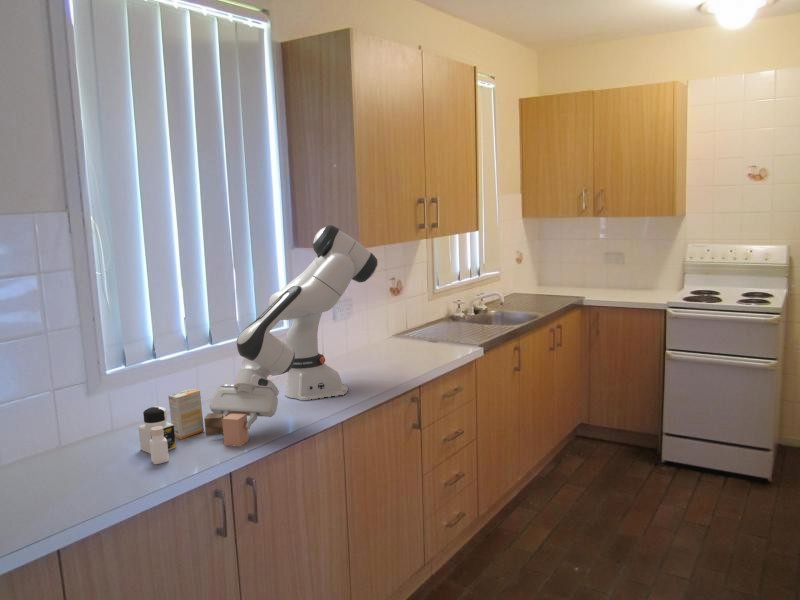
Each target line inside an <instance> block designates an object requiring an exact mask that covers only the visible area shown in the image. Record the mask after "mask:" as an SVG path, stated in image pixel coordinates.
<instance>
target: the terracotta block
mask: <svg viewBox="0 0 800 600" xmlns="http://www.w3.org/2000/svg"><path fill="white" fill-rule="evenodd" d="M245 421H248V416H247V414H236V413H231V414H229V415H228V416H226V417H224V418H223V419H222V422H223V433H222V434H223V444H224V446H225V445H235V446H234V447H238V446H240V447H242V446H243V445H244V444H246V443H247V442H248V441H249V429H244V428H243V425H244V422H245ZM247 440H248V441H247ZM246 441H247V442H246ZM245 442H246V443H245ZM243 443H244V444H243ZM242 444H243V445H242ZM241 445H242V446H241Z"/></svg>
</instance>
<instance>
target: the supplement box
mask: <svg viewBox="0 0 800 600" xmlns="http://www.w3.org/2000/svg"><path fill="white" fill-rule="evenodd" d="M201 397H202V396H201V390H198V389H195V388H188V389H185V390H182V391H178V392H174V393H171V394H168V397H167V398H168V405H169V407H168V408H169V414H170V423H171V424H174V433H175V439H179V440H183V439H185V438H189V437H191V436H193V435H196V434H199V433H203V432H204V431H205V430H204V429H205V426H204V419H203V408H202V399H201Z"/></svg>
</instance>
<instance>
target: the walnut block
mask: <svg viewBox="0 0 800 600" xmlns="http://www.w3.org/2000/svg"><path fill="white" fill-rule="evenodd" d="M223 418H224V417H223V414H214V413H213V412H212V413H210V412H209V413H207V414H206V415H205V417H204V419H203V422H204V429H205V430H204V431H205V435H214V433H218V434H223V422H222V419H223Z"/></svg>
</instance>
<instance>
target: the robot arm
mask: <svg viewBox="0 0 800 600" xmlns="http://www.w3.org/2000/svg"><path fill="white" fill-rule="evenodd" d="M312 249H313V251H314V253H315V254H316V255H317V256H315V258H314V259H313V260H312V262H310V264H309V265H308V266H307V267H306V268H305V270H304V271H303V272H301V273H300V274H299V275H298V276H297V277H295V278H293V279H292V280H291V281H290V282H289V283H288V284H286V285H285V286H284V287H282V288H281V289H279V290H278V291H276V292H275V293H273V294H272V295H271V296H270V297H269V300H268V307H267V309H265V311H264V312H262V314H260V316H258V317H257V319H255V320H254V321H253V322H252V323H250V325H248V326H247V327H245V328H244V329H243V330H242V331H241V332H240V333H239V335H238V336H237V337H236V338H237V339H236V347H237V348H236V349H237V351H238V354H239V356H241V357H242V365H241V368H240V369H239V370H238V373H237V376H236V379H235V382H234V384H222V385H220V386H219V387H217V388H216V391H215V394H214V395H213V398H212V399H211V401H210V404H209V409H210V411H211V412H212V413H214V414H223V417H226V416H228V415H229V414H231V413H236V414H247V417H250V418H248V419H247V421H245V422H244V425H243V428H244V429H248V430H250V429H251V427H252V425H253V424H254V423H255V422H256V421H257V420H258V417H266V418H267V417H268V418H272V417H273V416H274V415H276V412H277V410H278V404H279V398H278V395H279V393H280V390H279V389H278V387H277V386H276V384H275V383H274V382H273V381H272V380H270V379H268V377H269V376H271V377H274V376H280V375H285V374H286V373H287V380H286V382H287V384H286V390H285V394H284V395H285V397H287V398H291V399H297V400H299V401H312V400H318V398H320V399H325V398H324V397H328V398H332V397H331V396H335V397H339V396H338V395H343V394H345V393H346V392H347V391H348V392H349V388H348V385H347V384H345V383H344V382H342V379H341V375H340V374H339V372H338V371H337V370H335V369H334V368H332V367H331V366H329V365H328V364H326V363H325V362H326V357H325V356H324V354H323V353H322V354H321V353H320V352H319V344H318V343H319V342H318V340H319V339H318V334H319V333H318V330H319V325H320V321H321V318H322V314H323V313H325V312H328V311H331V309H333V308H334V307H335V306H336V304H337V303H338V301H340V299H341V297H342V296H343V294H345V292H346V290H347V289H348V287H349V285H350V283H351V282H352V280H353V281H354V282H356V283H365V282H366V281H368V280H369V279H370V278H371V277H373V275H374V274H375V273H376V270H377V267H378V263H379V262H378V259H377V256H375V254H373V252H370V251H369V250H368V249H367V248H366V247H365V246H364V245H363V244H362V243H360V242H359V241H358V240H356V239H355V238H353V237H351V236H350V235H348V234H347V233H345V232H343V231H341V230H340V228H338V227H336V226H334V225H332V224H328V225H326V226H324V227H322V228H321V229H319V230H318V231H317V232H316V234H315V235H314V238H313V243H312ZM292 320H293V321H292ZM280 321H292V323H291V326H290V328H289V329H288V331H287V332H286V334H285V340H286V341H285V342H284V341H283V340H281V339H280V338H278V337H276V336H274V335H273V334H272V333H271V332H270V331H271V330H272V329H273V328H274V327H276V325H277V324H278V323H279V322H280ZM348 392H347V393H348ZM347 393H346V394H347ZM346 394H345V395H346ZM343 396H344V395H343ZM311 399H312V400H311Z"/></svg>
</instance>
